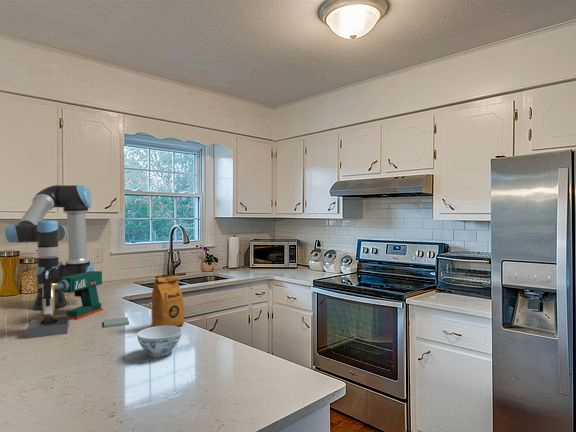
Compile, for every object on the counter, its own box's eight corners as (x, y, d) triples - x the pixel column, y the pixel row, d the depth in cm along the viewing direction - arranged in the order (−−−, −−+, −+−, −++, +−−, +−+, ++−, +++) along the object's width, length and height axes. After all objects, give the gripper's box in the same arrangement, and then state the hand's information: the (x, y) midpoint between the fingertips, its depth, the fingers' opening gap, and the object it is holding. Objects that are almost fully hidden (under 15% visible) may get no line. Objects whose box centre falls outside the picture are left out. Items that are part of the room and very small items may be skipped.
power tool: (55, 328, 172) (55, 282, 171) (41, 327, 173) (41, 281, 173) (104, 310, 203) (103, 271, 203) (91, 309, 204) (91, 270, 204)
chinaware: (140, 364, 129) (140, 341, 129) (134, 350, 143) (134, 329, 143) (186, 356, 136) (186, 334, 136) (177, 343, 150) (176, 323, 149)
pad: (103, 322, 180) (103, 319, 180) (127, 319, 185) (127, 317, 185) (104, 327, 172) (104, 325, 172) (129, 324, 176) (129, 322, 176)
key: (39, 322, 167) (39, 283, 167) (59, 320, 170) (58, 282, 170) (38, 324, 163) (38, 285, 163) (58, 322, 166) (57, 283, 166)
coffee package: (187, 326, 172) (186, 276, 172) (160, 332, 164) (159, 279, 164) (175, 322, 180) (175, 273, 179) (149, 327, 171) (148, 277, 171)
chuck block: (31, 329, 170) (31, 319, 170) (69, 324, 176) (69, 315, 176) (26, 338, 157) (26, 328, 157) (67, 333, 164) (67, 323, 164)
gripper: (40, 255, 173) (40, 309, 173) (34, 259, 157) (35, 318, 157) (60, 254, 176) (60, 307, 176) (56, 258, 160) (57, 316, 160)
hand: (48, 312), depth 167 cm, fingers closed on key, 4 cm apart
